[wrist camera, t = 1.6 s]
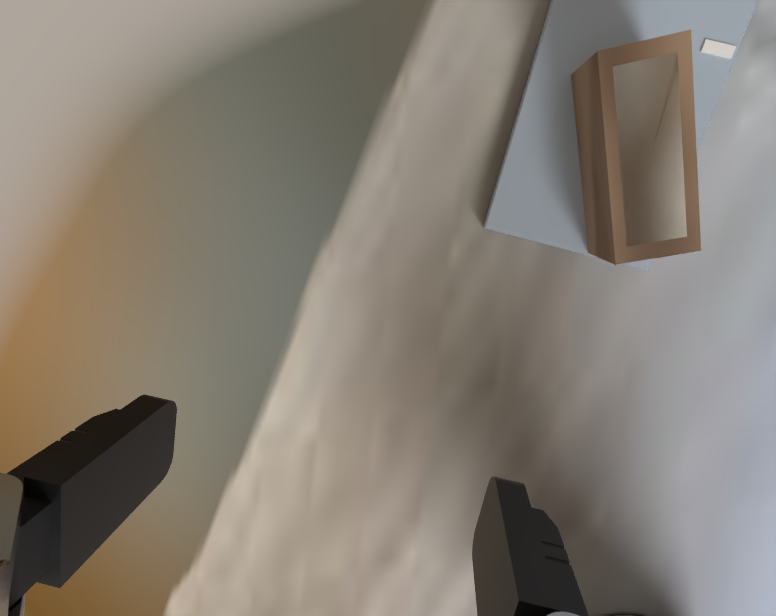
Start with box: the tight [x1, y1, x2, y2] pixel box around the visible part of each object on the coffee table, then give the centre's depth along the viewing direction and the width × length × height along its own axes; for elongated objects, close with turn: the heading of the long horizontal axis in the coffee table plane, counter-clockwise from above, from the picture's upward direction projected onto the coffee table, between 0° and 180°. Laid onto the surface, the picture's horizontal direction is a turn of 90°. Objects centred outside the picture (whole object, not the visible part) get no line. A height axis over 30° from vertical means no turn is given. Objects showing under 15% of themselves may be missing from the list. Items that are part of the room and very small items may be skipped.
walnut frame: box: [571, 30, 701, 265], centre depth 24 cm, size 4×10×4 cm, turn 11°
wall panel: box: [483, 0, 758, 271], centre depth 25 cm, size 10×24×3 cm, turn 166°
